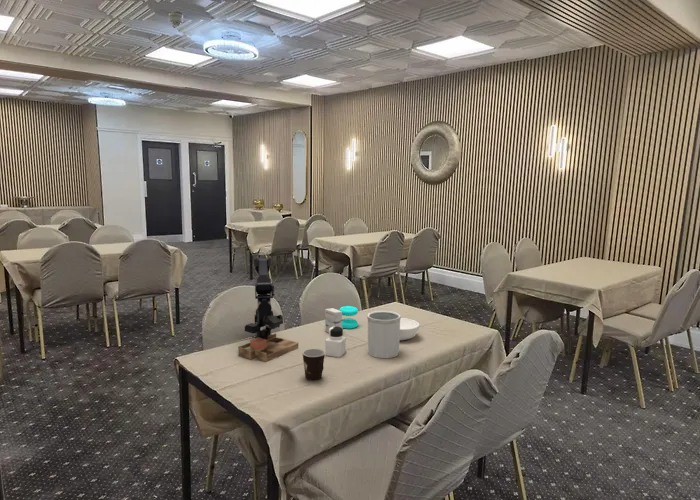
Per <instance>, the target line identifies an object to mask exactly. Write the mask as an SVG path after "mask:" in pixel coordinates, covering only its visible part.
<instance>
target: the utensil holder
mask: <svg viewBox="0 0 700 500" xmlns="http://www.w3.org/2000/svg"><path fill="white" fill-rule="evenodd" d="M366 317H367V353H368V354H369V355H370V356H371V357H374V358H378V359H391V358H394V357H397V356H398V355H399V352H400V351H399V350H400V340H399V339H400V319H401V318H402V316H401V314H400V313H398V312H396V311H393V310H392V311H391V310H374V311H372V312H368V313H367V316H366Z"/></svg>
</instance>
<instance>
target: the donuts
mask: <svg viewBox="0 0 700 500" xmlns="http://www.w3.org/2000/svg"><path fill="white" fill-rule="evenodd" d="M338 310H339V311H342V316H343V317H344V316H345V318H342V329H348V330H349V329H350V330H351V329H355V328H357V326H358V325H359V322H358V321H357V320H356V319H354V318H350V317H354V316H356V315H358V313H359V309H358V308H357V307H356V306H351V305H346V306H345V305H344V306H341V307H340V308H339V309H338ZM346 317H348V318H346Z"/></svg>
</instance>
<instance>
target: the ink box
mask: <svg viewBox="0 0 700 500" xmlns="http://www.w3.org/2000/svg"><path fill="white" fill-rule="evenodd" d="M324 319H325V320H324V322H325V323H324V329H325V332H326V333H328V334H329V329H330V328H331V327H334V326H337V327H341V328H342V319H343V315H342V311H339V309H336V308H333V307H332V308H325V309H324ZM342 329H343V328H342Z"/></svg>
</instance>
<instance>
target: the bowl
mask: <svg viewBox="0 0 700 500" xmlns="http://www.w3.org/2000/svg"><path fill="white" fill-rule="evenodd" d="M419 328H420V323H419V322H418V321H417V320H414V319H411V318H405V317H401V319H400V339H399V341H405V340H406V341H407V340H410V339H413V338H414V337H415V336H416V335H417V333H418V331H419Z"/></svg>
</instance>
